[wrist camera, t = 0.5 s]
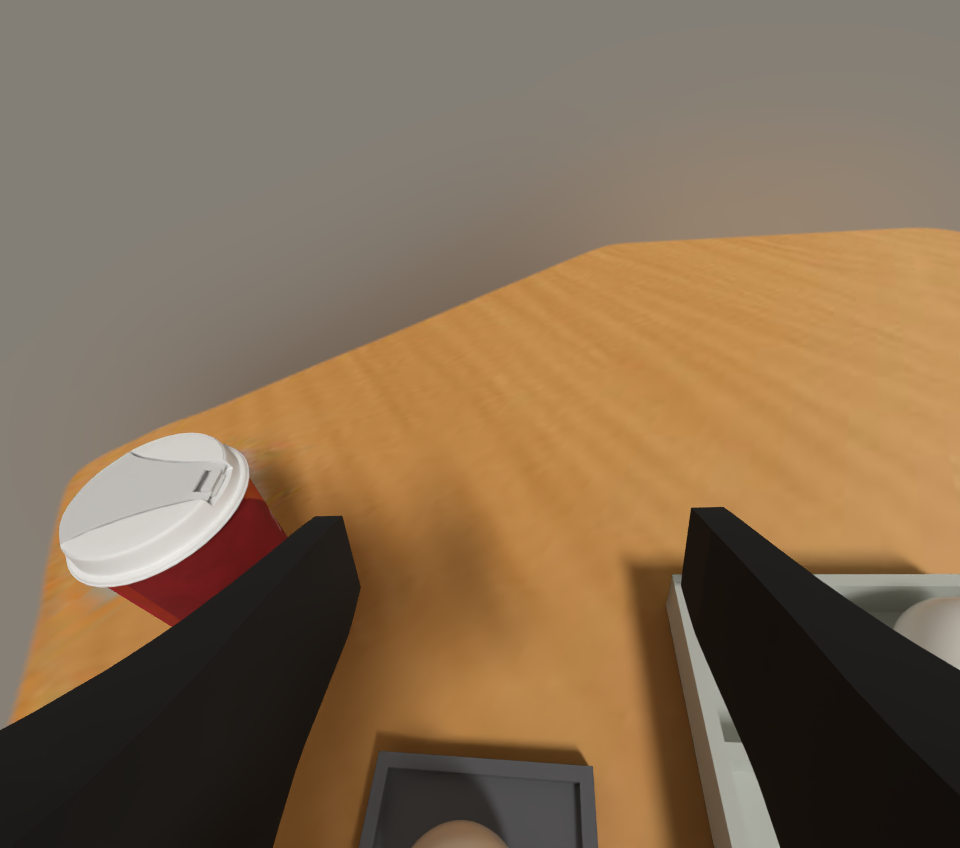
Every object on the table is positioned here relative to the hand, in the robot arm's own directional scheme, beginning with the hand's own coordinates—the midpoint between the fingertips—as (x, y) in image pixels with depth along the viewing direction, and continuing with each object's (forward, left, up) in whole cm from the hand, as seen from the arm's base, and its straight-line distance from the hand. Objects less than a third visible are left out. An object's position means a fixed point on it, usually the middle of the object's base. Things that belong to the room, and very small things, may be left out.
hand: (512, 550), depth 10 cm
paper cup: (+6, +17, -18) cm, 25 cm away
